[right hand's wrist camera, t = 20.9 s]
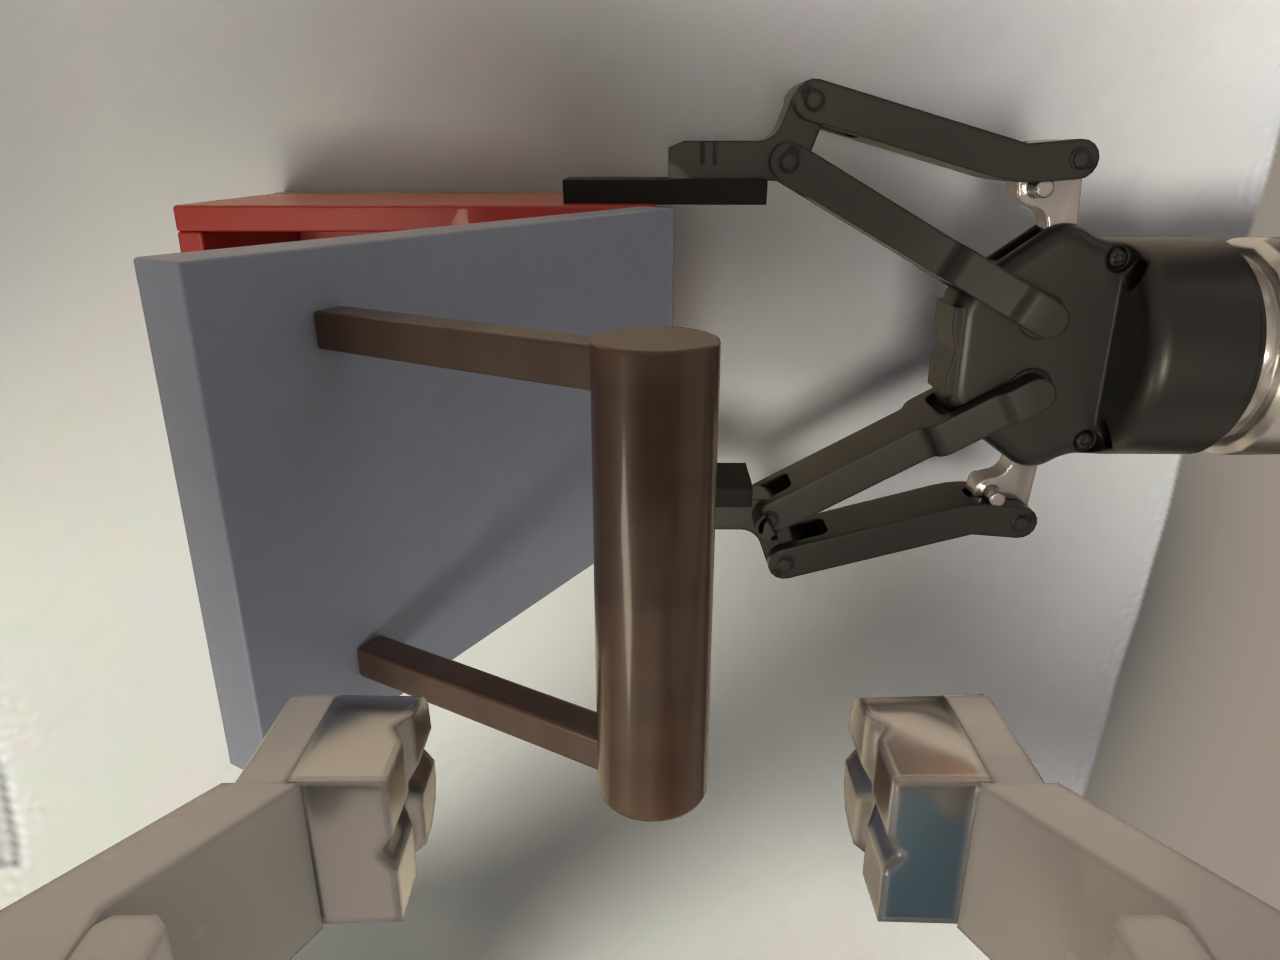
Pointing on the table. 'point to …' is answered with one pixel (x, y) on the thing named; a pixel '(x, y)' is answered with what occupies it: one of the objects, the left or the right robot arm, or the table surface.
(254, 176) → the table surface
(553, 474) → the lid
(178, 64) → the table surface
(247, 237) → the chest
